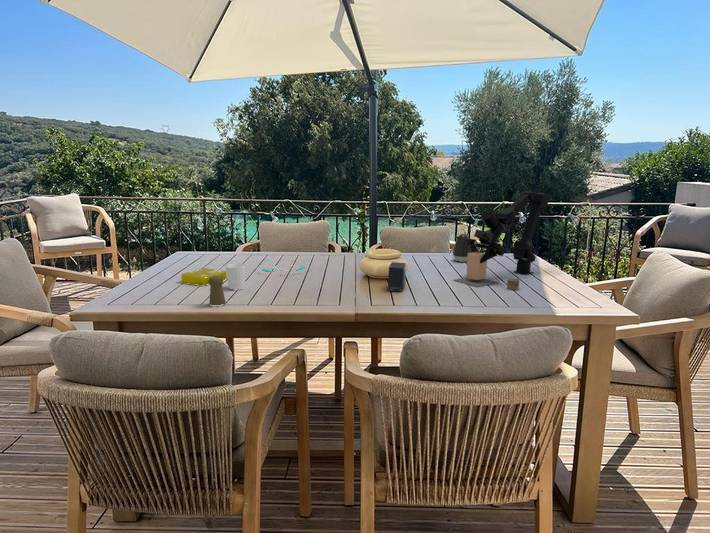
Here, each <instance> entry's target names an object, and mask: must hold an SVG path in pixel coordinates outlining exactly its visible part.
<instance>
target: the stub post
mask: <svg viewBox="0 0 710 533" xmlns="http://www.w3.org/2000/svg"><path fill="white" fill-rule="evenodd" d="M519 287H520V278H511V277H508V279H507V282H506V290H508V289H510V290H511V291H518V290H519V289H520V288H519ZM518 288H519V289H518Z"/></svg>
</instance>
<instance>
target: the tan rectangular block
mask: <svg viewBox="0 0 710 533" xmlns="http://www.w3.org/2000/svg"><path fill="white" fill-rule="evenodd" d="M484 254H485V252H481V251H479V252H473V253H468V256H467V262H466V277H467V278H471V279H475V280H479V279H484V278H485V279H487V268H488V267H487V266H488V260H487V261H485V262H483V263H480V260H481V258H482V257H483V255H484ZM466 277H465V278H466Z"/></svg>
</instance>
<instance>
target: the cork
mask: <svg viewBox="0 0 710 533" xmlns="http://www.w3.org/2000/svg"><path fill="white" fill-rule="evenodd" d="M209 284H210V285H209V287H210V288H209V303H208V305H209V304H211V305H221V304H225V303H226V298H225V293H224V288H223V284H224V281H223V278H222V277H221V276H212V277H210V278H209ZM226 304H227V303H226Z"/></svg>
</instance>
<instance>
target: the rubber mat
mask: <svg viewBox="0 0 710 533" xmlns="http://www.w3.org/2000/svg"><path fill="white" fill-rule="evenodd" d="M452 280H453V281H454V282H456V281H457V282H456V283H460V282H461V283H460V284H463V283H464V285H467V286H469V287H470V286H471V287H475V288H479V287H484V286H485V287H486V286H489V285H490V284H491V285H496V284H499V283H500V282H499V281H495V280H492V279H488V278H484V279H479V280H475V279H471V278H467V277H461V278H455V279H452Z"/></svg>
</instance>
